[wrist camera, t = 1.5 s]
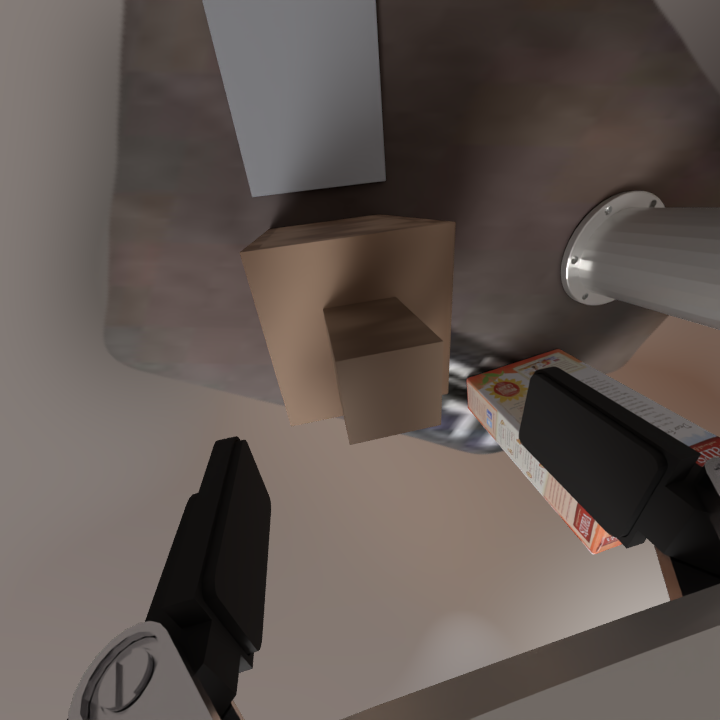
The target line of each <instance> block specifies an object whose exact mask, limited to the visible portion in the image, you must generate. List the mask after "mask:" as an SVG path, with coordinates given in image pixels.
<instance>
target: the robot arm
mask: <svg viewBox="0 0 720 720" xmlns="http://www.w3.org/2000/svg"><path fill="white" fill-rule="evenodd" d="M561 281H562V284H563V288H564V290H565V291H566V293H567V295H568V296H569V297H571V298H572V299H573V300H575V301H577V302H579V303H582V304H586V305H601V304H606V303H608V302H611V301H614V300H615V299H616V300H620V301H623V302H627V303H630V304H633V305H637V306H640V307H644V308H647V309H650V310H654V311H657V312H661V313H664V314H667V315H671V316H674V317H678V318H681V319H684V320H688V321H691V322H695V323H699V324H701V325H705V326H708V327H712V328H715V329H718V330H720V208H665V207H664V204H663V203H662V201H661V200H660V198H659V197H657V196H656V195H654V194H653V193H650V192H646V191H629V192H622V193H620V194H617V195H614V196H612V197H610V198H608V199H607V200H605V201H603V202H602V203H600V204H599V205H598V206H597V207H595V208H594V209H593V210H592V211H591V212H590V213H589V214H588V215H587V216H586V217H585V218H584V219H583V220H582V222H581V223H580V224H579V226H578V227H577V228H576V230H575V231H574V233H573V235H572V237H571V238H570V240H569V242H568V245H567V247H566V249H565V252H564V256H563V260H562V265H561ZM519 440H520V442H521V444H522V445H523V446H524V447H525V448H526V449H527V450H528V451H529V452H530V454H531V455H532V456H533V457H534V458H535V459H536V460H537V461H538V462H539V463H540V464H541V465H542V466H543V467H544V468H545V469H546V470H547V471H548V472H549V473H550V474H551V475H552V476H553V477H554V478H555V479H556V480H557V481H558V483H559V484H560V485H561V486H562V487H563V488H564V489H565V490H566V491H567V492H568V493H569V494H570V495H571V496H572V497H573V498H574V499H575V500H576V501H577V502H578V503H579V504H580V505H581V506H582V507H583V508H584V509H585V510H586V512H587V513H588V514H589V515H590V516H591V517H592V518H593V519H594V520H595V521H596V522H597V523H598V524H599V525H600V526H601V527H602V528H603V529H604V530H605V531H606V532H607V533H608V534H609V535H611V536H612V537H615V538H617V539H618V540H619V541H620V542H621V543H622V544H623V545H624V546H625V547H626V548H629V547H632V546H636V545H639V544H642V543H644V541H645V540H646V538H647V539H648V540H649V541H650V542H652V544H654V547H655V550H656V554H657V557H658V560H659V564H660V567H661V571H662V574H663V577H664V581H665V584H666V588H667V591H668V594H669V598H670V601H669V602H666V603H663V604H661V605H658V606H655V607H652V608H649V609H646V610H644V611H640V612H638V613H635V614H632V615H629V616H626V617H623V618H620V619H618V620H615V621H612V622H609V623H606V624H603V625H601V626H598V627H595V628H592V629H589V630H587V631H584V632H581V633H578V634H575V635H572V636H570V637H567V638H564V639H561V640H559V641H556V642H553V643H550V644H548V645H544V646H542V647H539V648H536V649H534V650H531V651H528V652H525V653H522V654H519V655H516V656H514V657H511V658H508V659H505V660H502V661H499V662H497V663H494V664H491V665H488V666H486V667H483V668H480V669H477V670H475V671H472V672H469V673H466V674H463V675H461V676H458V677H455V678H453V679H450V680H447V681H444V682H441V683H438V684H436V685H433V686H430V687H428V688H425V689H422V690H419V691H416V692H414V693H411V694H408V695H406V696H403V697H400V698H397V699H394V700H392V701H389V702H386V703H383V704H380V705H378V706H375V707H372V708H370V709H367V710H364V711H362V712H359V713H357V714H354V715H351V716H349V717H346V718H344V719H341V720H720V457H715V458H711V459H709V460H707V461H706V463H705V464H704V466H703V467H701V466H700V465H698V464H697V463H696V461H697V460H698V458H699V457H700V455H701V453H699V452H697V451H696V450H694V449H692V448H691V447H689V446H687V445H686V444H684V443H682V442H681V441H679V440H677V439H676V438H674V437H672V436H671V435H669V434H667V433H666V432H664V431H663V430H661V429H659V428H658V427H656V426H654V425H653V424H651V423H649V422H648V421H646V420H644V419H643V418H641V417H639V416H638V415H636V414H634V413H633V412H631V411H629V410H628V409H626V408H624V407H623V406H621V405H620V404H618V403H616V402H615V401H613V400H611V399H610V398H608V397H606V396H605V395H603V394H601V393H600V392H598V391H596V390H595V389H593V388H591V387H590V386H588V385H586V384H585V383H583V382H581V381H580V380H578V379H577V378H575V377H573V376H572V375H570V374H568V373H567V372H565V371H563V370H562V369H560V368H558V367H554V366H552V367H548V368H543V369H539V370H536V371H535V372H534V374H533V376H531V378H530V382H529V387H528V391H527V396H526V401H525V406H524V410H523V415H522V420H521V425H520V430H519ZM270 517H271V501H270V497H269V494H268V492H267V490H266V487H265V485H264V482H263V480H262V477H261V475H260V473H259V470H258V468H257V465H256V463H255V461H254V458H253V455H252V453H251V451H250V448H249V446H248V443H247V442H246V440H241V441H240V439H239V438H238V437H237V436H236V437H231V438H227V439H222V440H218V441H216V442H215V444H214V447H213V450H212V453H211V456H210V459H209V462H208V465H207V468H206V471H205V475H204V477H203V481H202V483H201V487H200V490H199V493H196V494H193V495H192V496H191V497H190V498H189V500H188V502H187V505H186V507H185V510H184V513H183V516H182V519H181V521H180V524H179V527H178V530H177V533H176V535H175V538H174V541H173V544H172V547H171V550H170V552H169V556H168V558H167V561H166V564H165V567H164V569H163V572H162V575H161V578H160V581H159V583H158V586H157V589H156V592H155V595H154V598H153V600H152V604H151V606H150V609H149V612H148V614H147V618H146V620H145V622H142V623H138V624H136V625H134V626H132V627H130V628H128V629H126V630H125V631H123V632H122V633H121V634H119V635H118V636H117V637H115V638H114V639H113V640H111V641H110V642H109V643H108V644H107V645H106V646H105V648H104V649H103V650H102V651H101V652H100V653H99V654H98V655H97V656H96V657H95V659H94V660H93V662H92V663H91V664H90V666H89V667H88V669H87V670H86V672H85V673H84V675H83V677H82V678H81V680H80V683H79V684H78V686H77V689H76V690H75V692H74V695H73V698H72V702H71V706H70V709H69V713H68V716H69V717H68V719H67V720H245V719H244V718H243V716H242V714H241V713H240V711H239V709H238V707H237V706H236V704H235V702H234V701H233V699H234V697H235V696H236V692H237V683H238V675H239V673H240V672H243V671H246V670H250V669H252V668H253V656H254V652H256V651H259V650H260V647H261V643H262V631H263V618H264V604H265V589H266V575H267V561H268V545H269V532H270Z"/></svg>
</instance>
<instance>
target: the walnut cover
mask: <svg viewBox="0 0 720 720" xmlns="http://www.w3.org/2000/svg"><path fill="white" fill-rule="evenodd" d="M455 224H456V222H451V221H441V220H431V219H421V218H411V217H401V216H391V215H381V214H378V215H370V216H363V217H355V218H348V219H341V220H333V221H326V222H318V223H311V224H303V225H296V226H288V227H281V228H274V229H269V230H267V231H266V232H265V233H264V234H262V235H261V236H260V237H259V238H257V239H256V240H255V241H254V242H252V243H251V244H250V245H249V246H247V247H246V248H245V249H243V250H242V251H241V252H240V256H241V259H242V262H243V266H244V269H245V272H246V276H247V279H248V283H249V286H250V289H251V293H252V296H253V299H254V303H255V306H256V309H257V313H258V316H259V320H260V323H261V326H262V330H263V333H264V336H265V340H266V343H267V346H268V350H269V353H270V357H271V360H272V363H273V367H274V370H275V373H276V377H277V380H278V383H279V387H280V390H281V393H282V397H283V400H284V404H285V407H286V410H287V414H288V417H289V420H290V424H291V426H295V425H300V424H305V423H310V422H315V421H319V420H324V419H329V418H334V417H339V416H343V415H344V420H345V424H346V429H347V433H348V438H349V443H350V445H351V444H356V443H361V442H365V441H370V440H374V439H378V438H383V437H388V436H392V435H397V434H401V433H406V432H410V431H415V430H419V429H424V428H428V427H433V426H437V425H441V405H442V395H443V394H448V380H449V358H450V336H451V313H452V291H453V269H454V247H455Z"/></svg>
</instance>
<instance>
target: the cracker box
mask: <svg viewBox="0 0 720 720" xmlns="http://www.w3.org/2000/svg"><path fill="white" fill-rule="evenodd" d="M552 366H554V367H558V368H560V369H562V370H563V371H565V372H567V373H568V374H570V375H572V376H573V377H575V378H577V379H578V380H580V381H581V382H583V383H585V384H586V385H588V386H590V387H591V388H593V389H595V390H596V391H598V392H600V393H601V394H603V395H605V396H606V397H608V398H610V399H611V400H613V401H615V402H616V403H618V404H620V405H621V406H623V407H624V408H626V409H628V410H629V411H631V412H633V413H634V414H636V415H638V416H639V417H641V418H643V419H644V420H646V421H648V422H649V423H651V424H653V425H654V426H656V427H658V428H659V429H661V430H663V431H664V432H666V433H667V434H669V435H671V436H672V437H674V438H676V439H677V440H679V441H681V442H682V443H684V444H686V445H687V446H689V447H691V448H692V449H694V450H696V451H697V452H699V453H701V455H700V457H699V458H698V460H697V461H696V463H697V464H698V465H700V466H701V467H703V466H704V464H705V463H706V461H707V460H709V459H711V458H715V457H720V437H718V436H716V435H714V434H712V433H710V432H709V431H707V430H705V429H703V428H701V427H699V426H698V425H696V424H694V423H692V422H691V421H689V420H687V419H685V418H683V417H681V416H680V415H678V414H676V413H674V412H672V411H670V410H669V409H667V408H665V407H663V406H662V405H660V404H658V403H656V402H654V401H653V400H651V399H649V398H647V397H645V396H643V395H642V394H640V393H638V392H636V391H634V390H633V389H631V388H629V387H627V386H625V385H623V384H622V383H620V382H618V381H616V380H614V379H613V378H611V377H609V376H607V375H605V374H604V373H602V372H600V371H598V370H596V369H595V368H593V367H591V366H589V365H587V364H586V363H584V362H582V361H580V360H578V359H576V358H575V357H573V356H571V355H569V354H567V353H566V352H564V351H562V350H560V349H555V350H552V351H550V352H546V353H543V354H540V355H537V356H534V357H531V358H528V359H525V360H522V361H519V362H516V363H512V364H509V365H506V366H503V367H500V368H497V369H494V370H491V371H488V372H485V373H482V374H479V375H476V376H472V377H469V378H467V396H468V409H469V410H470V411H471V412H472V413H473V414H474V416H475V417H476V418H477V419H478V420H479V422H480V423H481V424H482V425H483V426H484V428H485V429H486V430H487V431H488V432H489V434H490V435H491V436H492V437H493V438H494V439H495V440H496V442H497V443H498V444H499V445H500V446H501V448H502V449H503V450H504V451H505V452H506V453H507V455H508V456H509V457H510V458H511V459H512V460H513V462H514V463H515V464H516V465H517V466H518V467H519V469H520V470H521V471H522V472H523V473H524V475H525V476H526V477H527V478H528V479H529V481H530V482H531V483H532V484H533V485H534V486H535V488H536V489H537V490H538V491H539V492H540V494H541V495H542V496H543V497H544V498H545V499H546V501H547V502H548V503H549V504H550V505H551V506H552V508H553V509H554V510H555V511H556V512H557V513H558V515H559V516H560V517H561V518H562V519H563V520H564V521H565V523H566V524H567V525H568V526H569V528H570V529H571V530H572V531H573V532H574V533H575V535H576V536H577V537H578V538H579V539H580V540H581V542H582V543H583V544H584V545H585V546H586V547H587V549H588V550H589V551H590V552H591V553H592V554H597V553H600V552H602V551H605V550H607V549H610V548H613V547H616V546H618V545H621V544H622V543H621V542H620V541H619V540H618V539H617V538H615V537H612V536H611V535H609V534H608V533H607V532H606V531H605V530H604V529H603V528H602V527H601V526H600V525H599V524H598V523H597V522H596V521H595V520H594V519H593V518H592V517H591V516H590V515H589V514H588V513H587V512H586V510H585V509H584V508H583V507H582V506H581V505H580V504H579V503H578V502H577V501H576V500H575V499H574V498H573V497H572V496H571V495H570V494H569V493H568V492H567V491H566V490H565V489H564V488H563V487H562V486H561V485H560V484H559V483H558V481H557V480H556V479H555V478H554V477H553V476H552V475H551V474H550V473H549V472H548V471H547V470H546V469H545V468H544V467H543V466H542V465H541V464H540V463H539V462H538V461H537V460H536V459H535V458H534V457H533V456H532V455H531V454H530V452H529V451H528V450H527V449H526V448H525V447H524V446H523V445H522V444H521V442H520V440H519V430H520V425H521V420H522V415H523V410H524V406H525V401H526V396H527V391H528V387H529V382H530V378H531V376H533V374H534V372H535V371H536V370H539V369H543V368H548V367H552Z"/></svg>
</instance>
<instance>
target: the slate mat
mask: <svg viewBox="0 0 720 720" xmlns="http://www.w3.org/2000/svg"><path fill="white" fill-rule="evenodd" d="M202 1H203V5H204V9H205V13H206V17H207V20H208V24H209V28H210V32H211V36H212V40H213V44H214V48H215V52H216V56H217V60H218V64H219V68H220V72H221V75H222V79H223V83H224V87H225V91H226V95H227V99H228V103H229V107H230V111H231V115H232V119H233V123H234V127H235V131H236V134H237V138H238V142H239V146H240V150H241V154H242V158H243V162H244V166H245V170H246V174H247V178H248V182H249V186H250V189H251V193H252V197H258V196H266V195H274V194H283V193H291V192H299V191H307V190H315V189H324V188H332V187H340V186H348V185H357V184H365V183H373V182H381V181H386V173H385V156H384V139H383V121H382V104H381V86H380V69H379V52H378V34H377V17H376V0H202Z"/></svg>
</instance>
